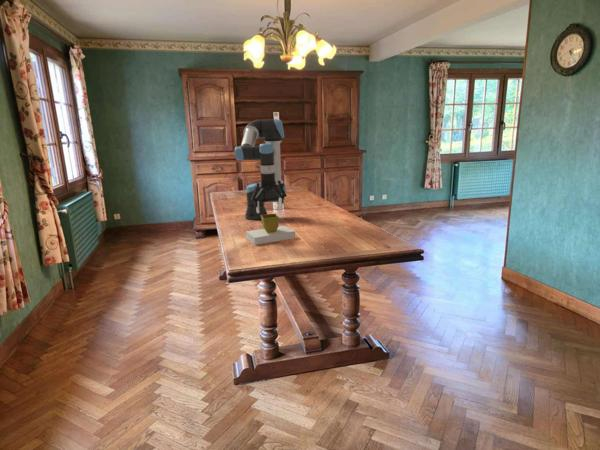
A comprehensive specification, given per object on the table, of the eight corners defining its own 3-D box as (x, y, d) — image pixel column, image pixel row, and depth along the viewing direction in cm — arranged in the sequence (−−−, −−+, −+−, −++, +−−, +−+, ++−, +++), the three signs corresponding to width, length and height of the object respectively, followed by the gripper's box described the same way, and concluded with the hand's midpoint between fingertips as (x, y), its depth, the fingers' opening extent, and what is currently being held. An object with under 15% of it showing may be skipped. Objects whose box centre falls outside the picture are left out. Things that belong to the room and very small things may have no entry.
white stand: (246, 238, 219) (246, 231, 218) (285, 232, 229) (284, 225, 228) (254, 244, 207) (254, 237, 205) (295, 238, 217) (295, 231, 216)
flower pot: (264, 234, 211) (263, 218, 209) (261, 230, 220) (260, 214, 217) (279, 232, 214) (279, 216, 211) (276, 228, 222) (275, 213, 220)
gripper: (248, 175, 199) (250, 215, 205) (291, 171, 210) (292, 209, 216) (243, 174, 206) (245, 212, 212) (285, 170, 217) (287, 206, 222)
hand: (269, 211), depth 214 cm, fingers open, 13 cm apart
